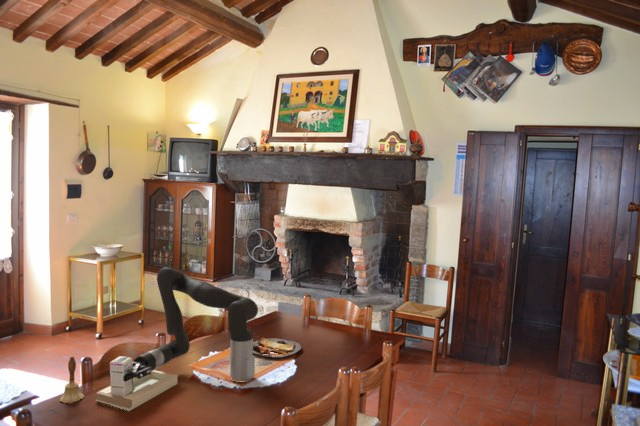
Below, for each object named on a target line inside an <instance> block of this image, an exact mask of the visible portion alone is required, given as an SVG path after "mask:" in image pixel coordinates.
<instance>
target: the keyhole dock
mask: <svg viewBox="0 0 640 426" xmlns="http://www.w3.org/2000/svg"><path fill="white" fill-rule="evenodd" d="M141 375H142V374H141ZM176 385H178V375H177V374H174V373H169V372H165V371H160V370H156V369H155V370H153V371H151V374H149V375H147V376H145V377H142V378H140V379H137V377H136V378H134V379H133V393H131V394H129V395H127V396H125V397H119V396H115V395H111V385H109V386H107V387H105V388H102V389H101V390H99V391H97V392H95V402H96V401H99V402H102V403H106V404H109V405H111V406H110V407H112V406H114V407H113V408H116V407H117V408H116V409H119V408H120V410H123V409H124V411H126V410H127V412H130V411H132V410H134V409H135V408H137V407H139V406H141V405H142V404H144V403H146V402H148V401H150V400H152V399H153V398H155V397H157V396H158V395H160V394H162V393H164V392H165V391H167V390H169V389H171V388H172V387H174V386H176ZM109 405H108V406H109Z"/></svg>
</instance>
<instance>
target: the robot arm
mask: <svg viewBox="0 0 640 426" xmlns="http://www.w3.org/2000/svg"><path fill="white" fill-rule="evenodd" d="M156 282H157V283H156V284H157V287H158V290H159V294H160V298H161V301H162V306H163V309H164V316H165V317H164V318H165V324H166V325H165V327H166V332H167V335H169V336H173V337H174V338H175V340H172V341H170V342H167V343H165V344H163V345H162V346H159V347H157V348H155V349H154V348H153V349H151V350H149V351H146V352H145V353H142V354H140V355H137V356H136V357H135V358H134V361H132V365H133V371H132V372H130V373H128V374H126V375H124V376H123V381H125V382H126V381H128V380H130V379H132V378H133V379H134V378H136V377H137V379H140V378H142V377H145V376H147V375H149V374H151V371H153V370H156V369H158V368H159V367H161V366H163V365H165V364H167V363H168V362H170V361H171V360H173V359H176V358H178V357H181V356H184V355H186V354H187V353H189V350H190V347H191V346H190V345H191V344H190V340H189V338H188V336H187V333H186V330H185V328H184V319H183V314H182V311H181V307H180V306H179V303H178V301H177V300H176V297H175V294H174V293H175V292H180V293H183V294H185V295H187V296H189V297H190V298H191V299H192V300H193V301H195V302H197V303H199V304H200V305H203V306H205V307H208V308H213V309H224V310H227V321H228V322H227V323H228V326H227V327H228V333H229V335H230V336H229V337H230V341H229V343H230V345H229V346H230V348H229V349H230V350H229V351H230V354H229V355H230V362H229V363H230V368H229V371H230V372H229V374H230V375H229V378H230V377H231V378H232V380H235V381H238V382H239V381H245V382H246V384H248V383H249V382H251V381H252V380H253V379H254V378H253V377H254V376H255V371H256V370H255V368H256V365H255V364H256V356H255V355H254V353H253V342H254V332H253V330H252V329H250V328H248V326H247V325H248V323H247V322H248V321H251V320H253V319H254V318H255V317H257V315H258V312H259V308H258V305H257V304H256V302H255V301H254V300H253V299H251V298H249V297H246V296H241V295H238V294H235V293H233V292H230V291H228V290H226V289H223V288H220V287H218V286H216V285H214V284H211V283H210V282H206V281H203V280H199V279H195V278H192V277H190V276H189V275H187V274H185V273H184V272H183V271H180V270H178V269H175V268H172V267H168V266H165V267H162V268H161V269H159V271H158V273H157V275H156ZM174 291H175V292H174ZM141 374H142V375H141ZM108 377H109V379H110V371H109V372H108ZM252 378H253V379H252ZM251 379H252V380H251Z"/></svg>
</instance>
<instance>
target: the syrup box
mask: <svg viewBox="0 0 640 426" xmlns="http://www.w3.org/2000/svg"><path fill="white" fill-rule="evenodd" d="M132 362H133V358H132V357H130V356H124V355H123V356H121V355H119V356H118V357H116V358H115V359H113V360H111V361H109V372H110V378H109V379H110V386H111V395H115V396H119V397H125V396H127V395H129V394H131V393H133V378H132V379H130V380H128V381H126V382H125V381H123V376H124V375H126V374H128V373H130V372H132V371H133V365H132Z"/></svg>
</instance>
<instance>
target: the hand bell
mask: <svg viewBox="0 0 640 426" xmlns="http://www.w3.org/2000/svg"><path fill="white" fill-rule="evenodd" d="M67 366H68V372H69V382H68V383H66V385H65V386H64V392H63V394H62V396H61V397H60V398H59V402H60V401H62V402H74V401H77V400H80V399H82V398H83V397H84V398H85V395H84V394H83V393H82V392H81V390H80V386H79V383H78V382H75V380H76V379H75V371H76V366H77V363H76V360H75V357H74V356H70V358H69V361H68V364H67ZM84 398H83V399H84ZM83 399H82V400H83Z"/></svg>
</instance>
